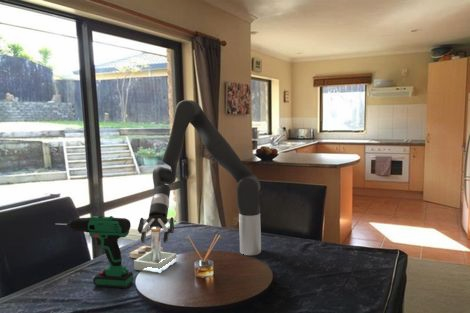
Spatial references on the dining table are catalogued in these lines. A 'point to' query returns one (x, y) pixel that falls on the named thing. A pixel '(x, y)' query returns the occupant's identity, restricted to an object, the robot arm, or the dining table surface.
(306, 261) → the dining table surface
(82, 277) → the dining table surface
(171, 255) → the tray
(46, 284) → the dining table surface
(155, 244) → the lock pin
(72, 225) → the power drill
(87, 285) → the dining table surface
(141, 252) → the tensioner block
